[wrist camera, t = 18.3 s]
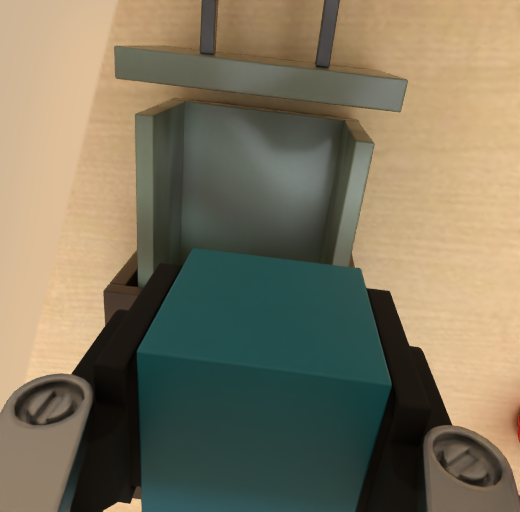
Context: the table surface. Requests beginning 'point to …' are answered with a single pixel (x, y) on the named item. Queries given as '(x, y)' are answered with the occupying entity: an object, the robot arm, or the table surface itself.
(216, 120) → the drawer
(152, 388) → the cube
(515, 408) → the table surface
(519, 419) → the beverage can
